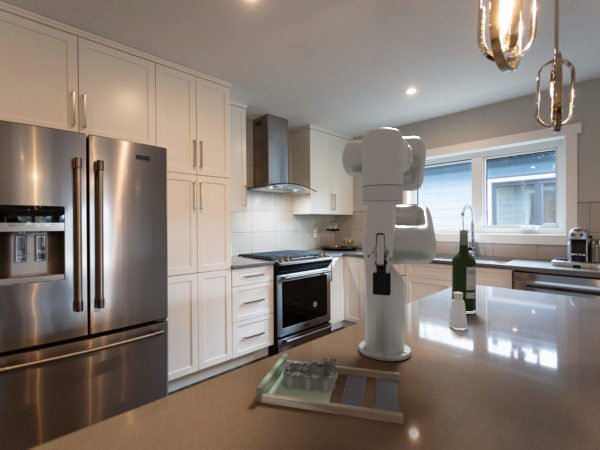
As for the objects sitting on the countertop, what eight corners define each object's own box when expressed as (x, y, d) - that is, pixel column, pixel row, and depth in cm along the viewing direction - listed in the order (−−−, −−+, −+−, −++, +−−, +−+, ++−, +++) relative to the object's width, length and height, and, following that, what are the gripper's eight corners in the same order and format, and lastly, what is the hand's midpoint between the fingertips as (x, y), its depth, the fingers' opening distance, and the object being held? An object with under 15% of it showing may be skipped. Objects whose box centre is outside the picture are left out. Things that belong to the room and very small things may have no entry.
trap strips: (347, 375, 69) (347, 374, 69) (396, 381, 66) (396, 380, 66) (338, 411, 55) (338, 410, 55) (399, 421, 53) (399, 419, 53)
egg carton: (338, 377, 68) (339, 358, 68) (334, 396, 60) (334, 373, 60) (289, 371, 70) (289, 352, 70) (278, 388, 63) (279, 367, 63)
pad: (286, 368, 72) (286, 367, 72) (338, 374, 69) (338, 373, 69) (263, 400, 59) (263, 399, 59) (326, 410, 56) (326, 408, 56)
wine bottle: (475, 316, 114) (475, 230, 114) (450, 312, 118) (450, 230, 118) (476, 311, 121) (476, 230, 121) (452, 308, 125) (453, 230, 125)
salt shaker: (453, 330, 98) (454, 294, 98) (445, 325, 104) (445, 290, 104) (471, 330, 98) (471, 294, 98) (462, 325, 104) (462, 290, 104)
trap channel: (283, 364, 74) (283, 353, 74) (399, 378, 67) (399, 366, 67) (256, 401, 58) (256, 387, 58) (403, 424, 52) (403, 408, 52)
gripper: (365, 199, 69) (365, 285, 70) (356, 194, 55) (356, 302, 56) (402, 198, 67) (402, 287, 68) (403, 193, 53) (402, 305, 53)
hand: (381, 293), depth 62 cm, fingers closed
